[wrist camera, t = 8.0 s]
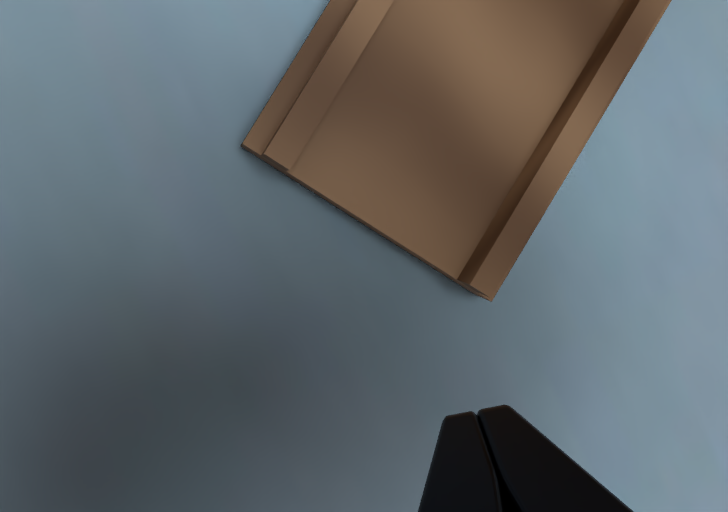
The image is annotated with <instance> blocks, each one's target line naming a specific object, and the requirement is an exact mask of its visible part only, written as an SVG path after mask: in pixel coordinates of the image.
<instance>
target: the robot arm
mask: <svg viewBox="0 0 728 512" xmlns="http://www.w3.org/2000/svg"><path fill="white" fill-rule="evenodd" d="M418 512H633V511H632V510H631V509H630V508H629V507H628V506H626V505H625V504H624V503H623V502H622V501H621V500H619V499H618V498H617V497H616V496H615V495H613V494H612V493H611V492H610V491H609V490H608V489H606V488H605V487H604V486H603V485H602V484H601V483H599V482H598V481H597V480H596V479H595V478H594V477H592V476H591V475H590V474H589V473H588V472H587V471H585V470H584V469H583V468H582V467H581V466H580V465H578V464H577V463H576V462H575V461H574V460H573V459H571V458H570V457H569V456H568V455H567V454H565V453H564V452H563V451H562V450H561V449H560V448H558V447H557V446H556V445H555V444H554V443H553V442H551V441H550V440H549V439H548V438H547V437H546V436H544V435H543V434H542V433H541V432H540V431H539V430H537V429H536V428H535V427H534V426H533V425H532V424H530V423H529V422H528V421H527V420H526V419H525V418H523V417H522V416H521V415H520V414H519V413H517V412H516V411H515V410H514V409H513V408H512V407H510V406H508V405H500V406H495V407H490V408H485V409H481V410H479V411H478V413H477V415H476V414H475V413H474V412H472V411H469V412H464V413H459V414H454V415H449V416H446V417H445V418H444V420H443V422H442V425H441V429H440V432H439V436H438V440H437V443H436V447H435V451H434V454H433V458H432V462H431V465H430V469H429V473H428V476H427V480H426V484H425V487H424V491H423V495H422V498H421V502H420V506H419V509H418Z"/></svg>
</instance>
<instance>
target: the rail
mask: <svg viewBox="0 0 728 512" xmlns="http://www.w3.org/2000/svg"><path fill="white" fill-rule="evenodd" d="M670 2H671V0H330V2H329V3H328V5H327V7H326V8H325V10H324V11H323V13H322V15H321V16H320V18H319V20H318V21H317V23H316V24H315V26H314V28H313V29H312V31H311V33H310V34H309V36H308V37H307V39H306V41H305V42H304V44H303V46H302V47H301V49H300V50H299V52H298V54H297V55H296V57H295V59H294V60H293V62H292V63H291V65H290V67H289V68H288V70H287V71H286V73H285V75H284V76H283V78H282V80H281V81H280V83H279V84H278V86H277V88H276V89H275V91H274V93H273V94H272V96H271V97H270V99H269V101H268V102H267V104H266V106H265V107H264V109H263V110H262V112H261V114H260V115H259V117H258V119H257V120H256V122H255V123H254V125H253V127H252V128H251V130H250V132H249V133H248V135H247V136H246V138H245V140H244V141H243V143H242V145H241V147H243V148H244V149H246V150H247V151H249V152H250V153H252V154H254V155H255V156H257V157H258V158H260V159H262V160H263V161H265V162H266V163H268V164H269V165H271V166H273V167H274V168H276V169H277V170H279V171H281V172H282V173H284V174H285V175H287V176H288V177H290V178H292V179H293V180H295V181H296V182H298V183H299V184H301V185H303V186H304V187H306V188H307V189H309V190H311V191H312V192H314V193H315V194H317V195H318V196H320V197H322V198H323V199H325V200H326V201H328V202H330V203H331V204H333V205H334V206H336V207H337V208H339V209H341V210H342V211H344V212H345V213H347V214H348V215H350V216H352V217H353V218H355V219H356V220H358V221H360V222H361V223H363V224H364V225H366V226H367V227H369V228H371V229H372V230H374V231H375V232H377V233H379V234H380V235H382V236H383V237H385V238H386V239H388V240H390V241H391V242H393V243H394V244H396V245H397V246H399V247H401V248H402V249H404V250H405V251H407V252H409V253H410V254H412V255H413V256H415V257H416V258H418V259H420V260H421V261H423V262H424V263H426V264H428V265H429V266H431V267H432V268H434V269H435V270H437V271H439V272H440V273H442V274H443V275H445V276H446V277H448V278H450V279H451V280H453V281H454V282H456V283H458V284H459V285H461V286H462V287H464V288H465V289H467V290H469V291H470V292H472V293H473V294H475V295H477V296H479V297H482V298H484V299H486V300H489V301H491V302H492V300H493V298H494V297H495V295H496V293H497V292H498V290H499V288H500V287H501V285H502V283H503V282H504V280H505V278H506V277H507V275H508V273H509V272H510V270H511V268H512V267H513V265H514V263H515V262H516V260H517V258H518V257H519V255H520V253H521V251H522V250H523V248H524V246H525V245H526V243H527V241H528V240H529V238H530V236H531V235H532V233H533V231H534V230H535V228H536V226H537V225H538V223H539V221H540V220H541V218H542V216H543V215H544V213H545V211H546V210H547V208H548V206H549V205H550V203H551V201H552V200H553V198H554V196H555V195H556V193H557V191H558V190H559V188H560V186H561V185H562V183H563V181H564V179H565V178H566V176H567V174H568V173H569V171H570V169H571V168H572V166H573V164H574V163H575V161H576V159H577V158H578V156H579V154H580V153H581V151H582V149H583V148H584V146H585V144H586V143H587V141H588V139H589V138H590V136H591V134H592V133H593V131H594V129H595V128H596V126H597V124H598V123H599V121H600V119H601V118H602V116H603V114H604V113H605V111H606V109H607V107H608V106H609V104H610V102H611V101H612V99H613V97H614V96H615V94H616V92H617V91H618V89H619V87H620V86H621V84H622V82H623V81H624V79H625V77H626V76H627V74H628V72H629V71H630V69H631V67H632V66H633V64H634V62H635V61H636V59H637V57H638V56H639V54H640V52H641V51H642V49H643V47H644V46H645V44H646V42H647V40H648V39H649V37H650V35H651V34H652V32H653V30H654V29H655V27H656V25H657V24H658V22H659V20H660V19H661V17H662V15H663V14H664V12H665V10H666V9H667V7H668V5H669V4H670Z"/></svg>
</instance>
